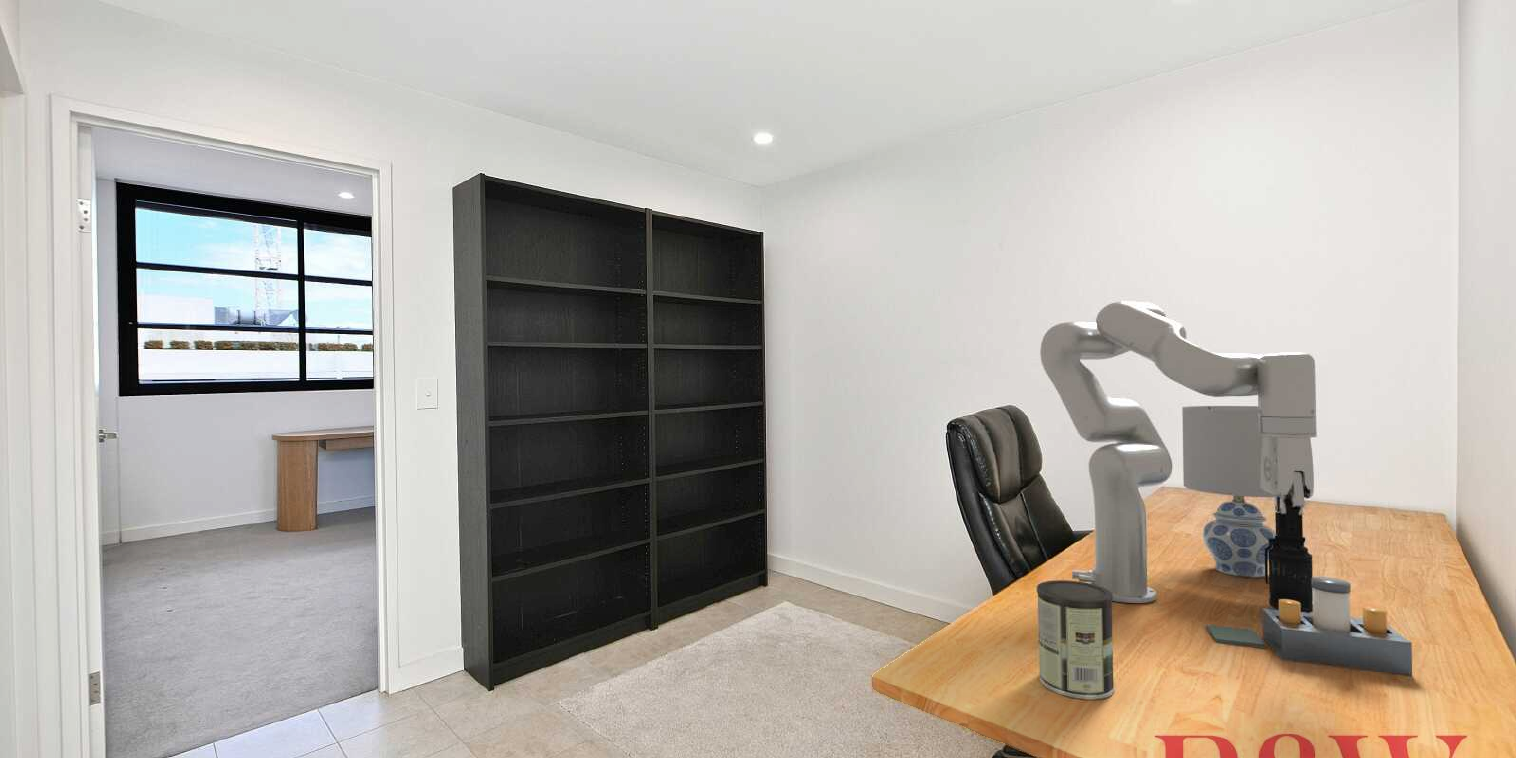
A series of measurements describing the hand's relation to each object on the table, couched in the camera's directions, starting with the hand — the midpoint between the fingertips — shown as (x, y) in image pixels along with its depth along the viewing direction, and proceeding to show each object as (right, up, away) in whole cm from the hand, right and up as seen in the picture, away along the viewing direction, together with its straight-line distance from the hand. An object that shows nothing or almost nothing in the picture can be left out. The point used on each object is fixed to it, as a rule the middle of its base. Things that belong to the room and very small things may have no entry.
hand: (1289, 537), depth 110 cm
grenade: (+13, -19, +16) cm, 28 cm away
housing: (+5, -19, -2) cm, 20 cm away
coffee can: (-41, -20, -11) cm, 46 cm away
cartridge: (+5, -19, -2) cm, 20 cm away
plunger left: (0, -16, 0) cm, 16 cm away
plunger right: (+10, -16, -4) cm, 19 cm away
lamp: (+24, -19, +43) cm, 53 cm away
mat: (-5, -19, +6) cm, 20 cm away
